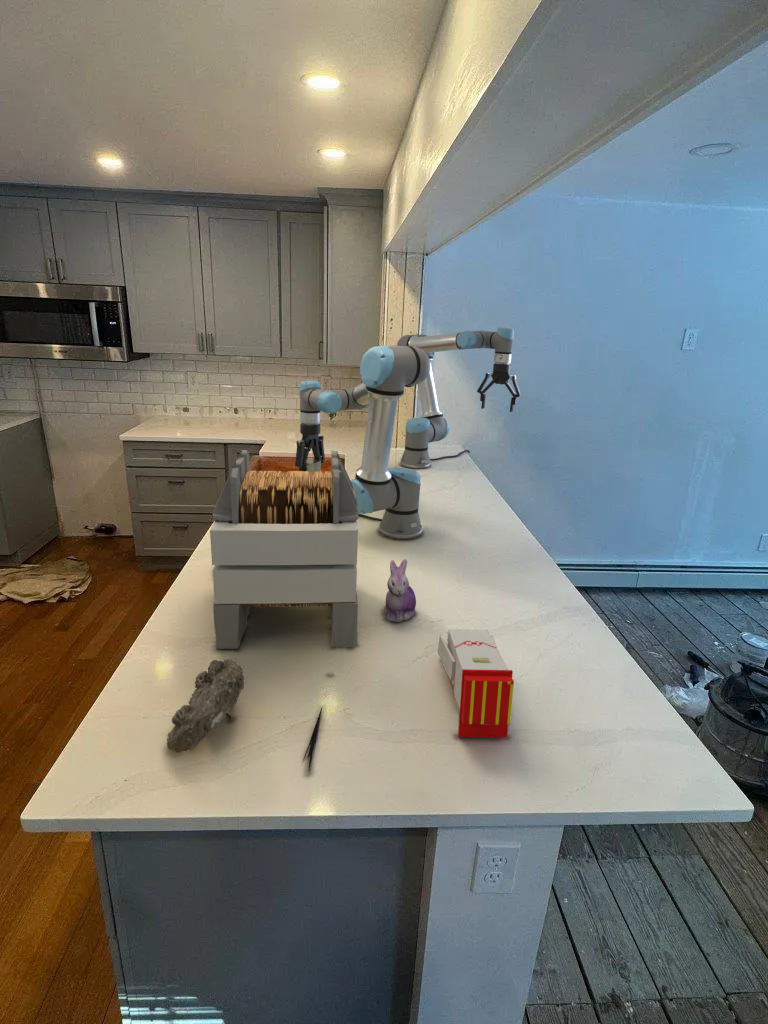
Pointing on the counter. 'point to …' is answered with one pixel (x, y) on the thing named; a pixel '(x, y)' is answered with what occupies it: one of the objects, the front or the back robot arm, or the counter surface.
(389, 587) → the figurine
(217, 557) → the record crate
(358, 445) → the counter surface
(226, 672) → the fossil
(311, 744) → the feather
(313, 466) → the canister
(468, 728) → the toy
